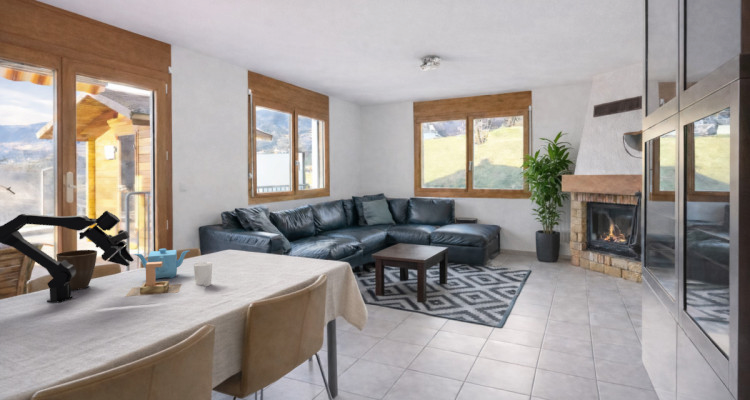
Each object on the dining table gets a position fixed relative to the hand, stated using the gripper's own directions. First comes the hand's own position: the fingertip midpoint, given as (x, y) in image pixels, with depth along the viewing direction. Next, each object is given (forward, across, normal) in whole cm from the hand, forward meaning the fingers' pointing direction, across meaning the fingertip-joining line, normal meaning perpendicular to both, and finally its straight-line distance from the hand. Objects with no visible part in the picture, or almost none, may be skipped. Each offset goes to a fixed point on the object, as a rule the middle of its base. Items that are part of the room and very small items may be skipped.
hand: (130, 263), depth 174 cm
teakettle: (+16, +24, +3) cm, 29 cm away
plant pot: (-7, +18, +27) cm, 33 cm away
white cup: (+30, +4, -11) cm, 32 cm away
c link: (+15, -1, +2) cm, 15 cm away
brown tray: (+16, -1, +3) cm, 16 cm away
